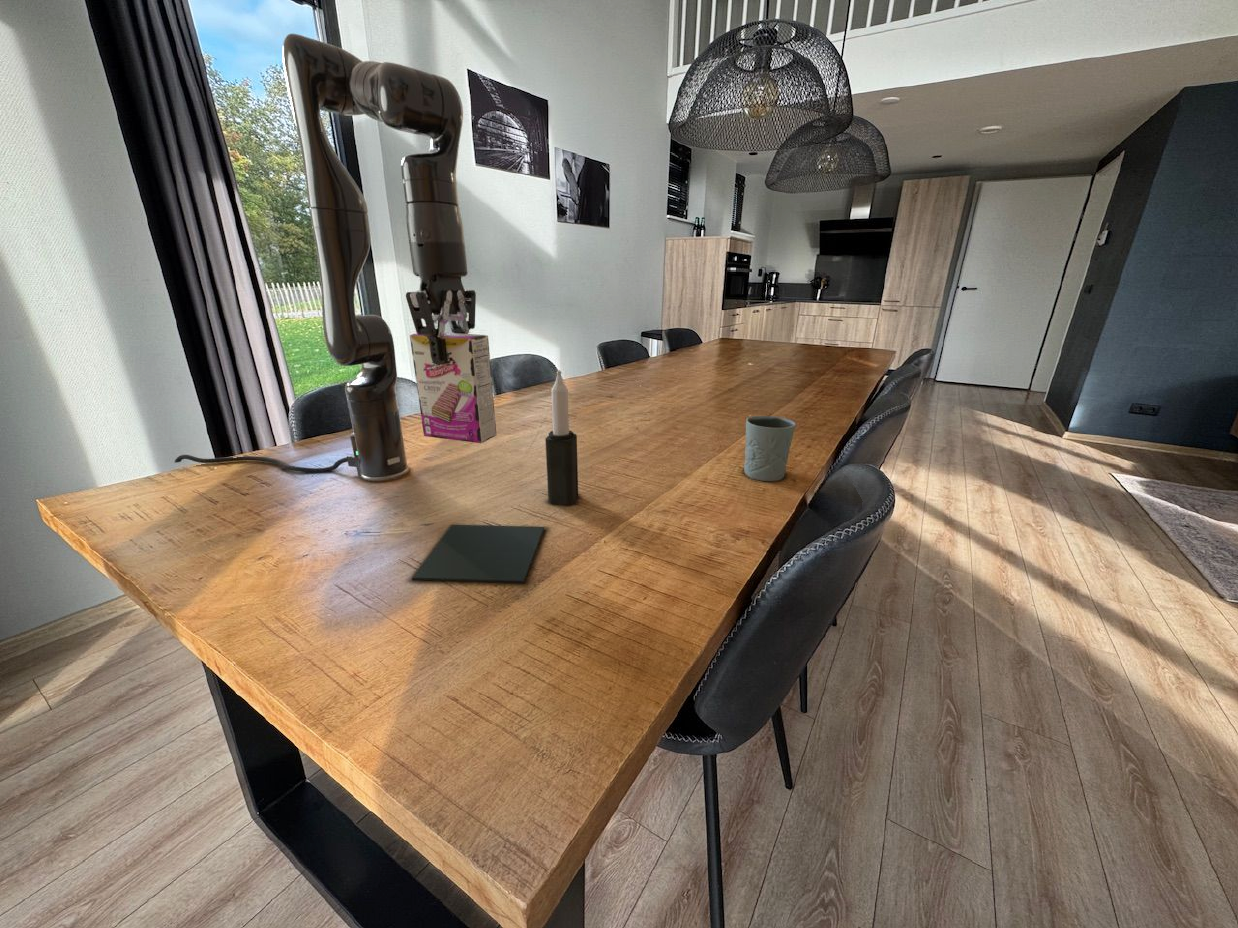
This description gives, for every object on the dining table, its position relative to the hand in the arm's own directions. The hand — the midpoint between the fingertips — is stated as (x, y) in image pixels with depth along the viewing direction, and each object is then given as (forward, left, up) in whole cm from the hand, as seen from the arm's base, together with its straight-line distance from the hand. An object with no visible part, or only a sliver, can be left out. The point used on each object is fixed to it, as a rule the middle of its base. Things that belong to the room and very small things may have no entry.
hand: (451, 360), depth 76 cm
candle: (+12, +14, -28) cm, 34 cm away
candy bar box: (0, 0, -13) cm, 13 cm away
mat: (+8, -8, -28) cm, 30 cm away
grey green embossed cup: (+49, +40, -28) cm, 69 cm away
